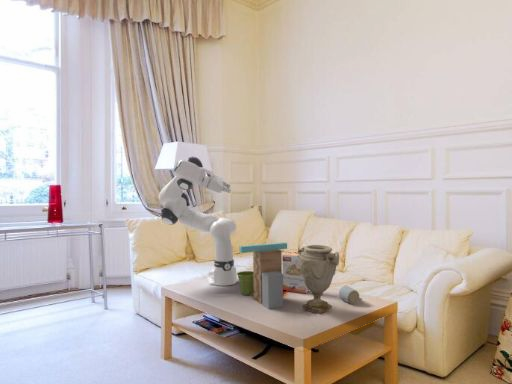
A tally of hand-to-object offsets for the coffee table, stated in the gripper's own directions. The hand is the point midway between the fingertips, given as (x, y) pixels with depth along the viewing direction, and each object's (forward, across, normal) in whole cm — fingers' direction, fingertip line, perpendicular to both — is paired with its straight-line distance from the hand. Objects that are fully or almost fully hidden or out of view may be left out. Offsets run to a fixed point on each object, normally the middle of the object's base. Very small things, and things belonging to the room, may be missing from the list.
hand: (230, 189), depth 191 cm
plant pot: (+34, +4, -49) cm, 60 cm away
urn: (+59, +34, -30) cm, 74 cm away
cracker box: (+58, +3, -38) cm, 70 cm away
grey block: (+41, +25, -40) cm, 62 cm away
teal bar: (+28, +10, -20) cm, 36 cm away
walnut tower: (+41, +16, -42) cm, 61 cm away
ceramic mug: (+77, +25, -23) cm, 85 cm away
